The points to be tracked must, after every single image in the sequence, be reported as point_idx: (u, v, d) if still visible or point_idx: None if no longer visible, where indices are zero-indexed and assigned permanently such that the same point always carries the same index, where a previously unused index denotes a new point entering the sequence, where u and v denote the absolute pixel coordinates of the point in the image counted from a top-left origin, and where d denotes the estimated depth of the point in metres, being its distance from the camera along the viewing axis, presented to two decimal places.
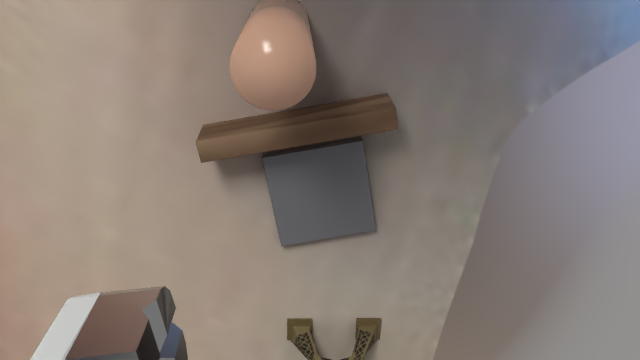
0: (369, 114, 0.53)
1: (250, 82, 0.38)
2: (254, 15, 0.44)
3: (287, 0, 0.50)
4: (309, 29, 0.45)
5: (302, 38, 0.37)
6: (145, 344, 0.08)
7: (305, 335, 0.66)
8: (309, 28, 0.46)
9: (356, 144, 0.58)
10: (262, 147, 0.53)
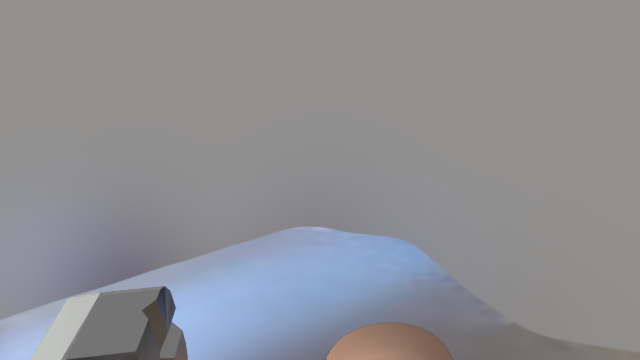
0: None
1: None
2: None
3: None
4: None
5: (350, 333, 0.27)
6: (145, 343, 0.08)
7: None
8: None
9: None
10: None
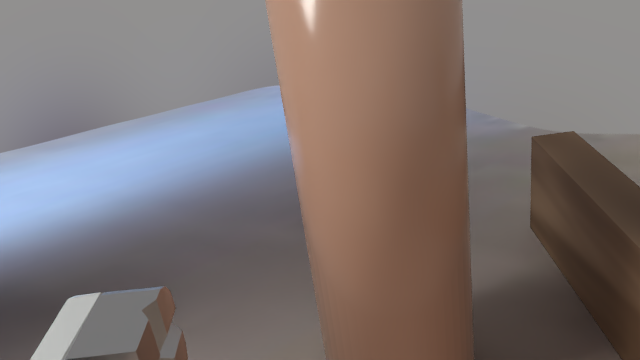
0: (555, 154, 0.26)
1: None
2: (293, 135, 0.17)
3: None
4: None
5: None
6: (146, 343, 0.08)
7: None
8: None
9: None
10: None
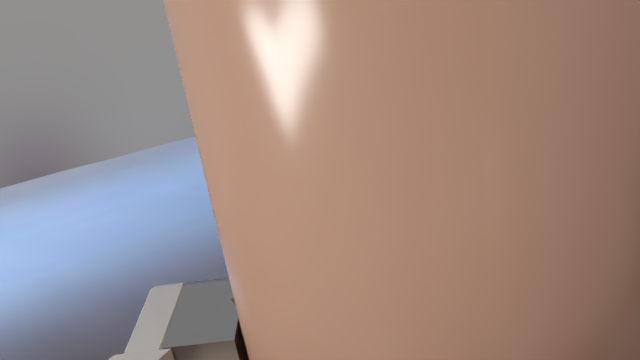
0: None
1: None
2: None
3: None
4: None
5: None
6: (239, 332, 0.08)
7: None
8: None
9: None
10: None
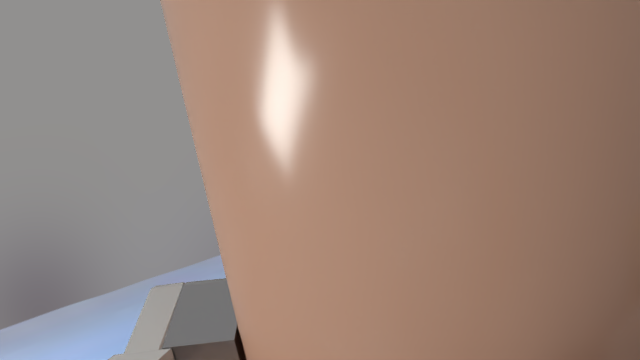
0: None
1: None
2: None
3: None
4: None
5: None
6: None
7: None
8: None
9: None
10: None
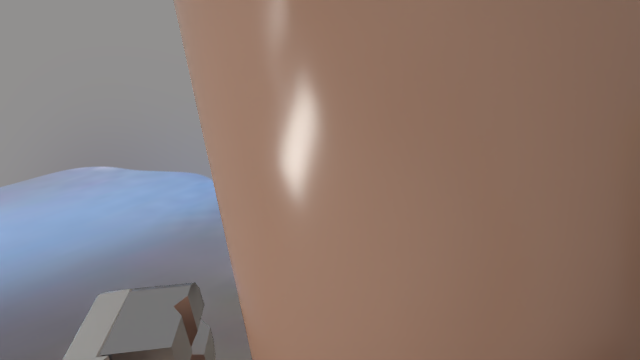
0: None
1: None
2: None
3: None
4: None
5: None
6: (179, 339, 0.08)
7: None
8: None
9: None
10: None
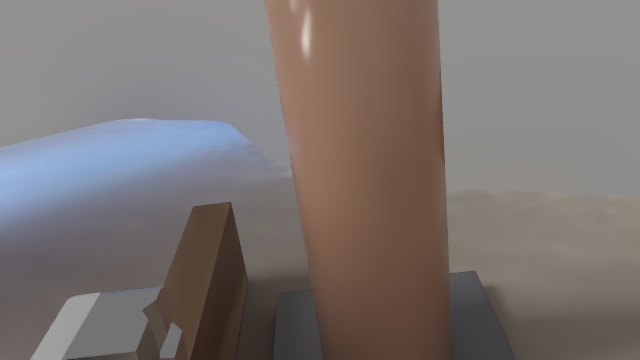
0: (189, 228, 0.29)
1: None
2: (292, 142, 0.20)
3: None
4: None
5: None
6: (145, 344, 0.08)
7: None
8: None
9: (282, 301, 0.29)
10: None
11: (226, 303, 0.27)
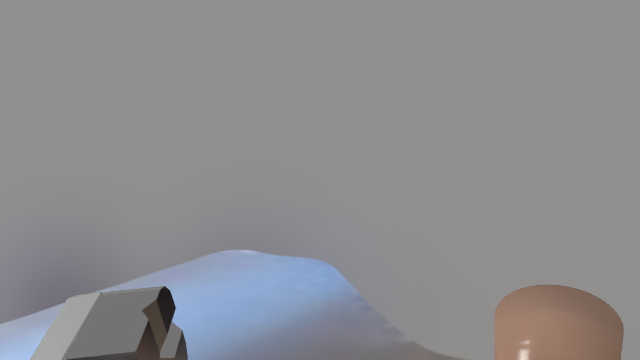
0: None
1: (585, 341, 0.26)
2: None
3: None
4: None
5: (509, 295, 0.29)
6: (145, 344, 0.08)
7: None
8: None
9: None
10: None
11: None
